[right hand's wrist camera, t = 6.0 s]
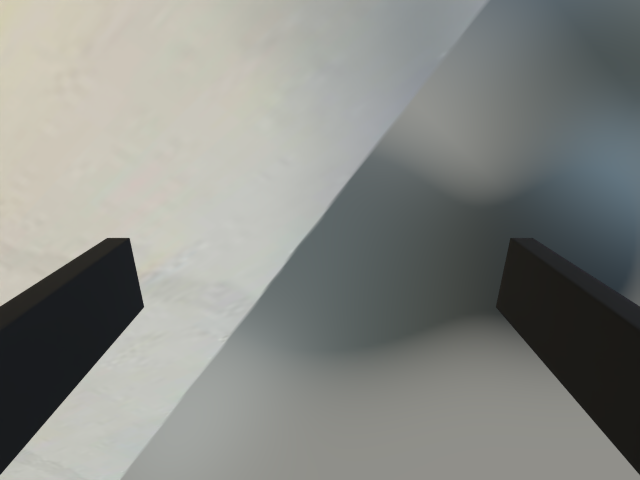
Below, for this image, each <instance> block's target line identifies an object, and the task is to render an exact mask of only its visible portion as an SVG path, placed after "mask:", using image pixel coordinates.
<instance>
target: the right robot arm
mask: <svg viewBox="0 0 640 480" xmlns="http://www.w3.org/2000/svg"><path fill="white" fill-rule="evenodd" d="M143 308H144V305H143V300H142V295H141V290H140V286H139V281H138V276H137V271H136V267H135V262H134V257H133V252H132V248H131V243H130V238H107V239H105V240H103V241H102V242H100V243H99V244H97V245H96V246H94V247H93V248H91V249H89V250H88V251H86V252H85V253H83V254H82V255H80V256H79V257H77V258H75V259H74V260H72V261H71V262H69V263H68V264H66V265H64V266H63V267H61V268H60V269H58V270H57V271H55V272H54V273H52V274H50V275H49V276H47V277H46V278H44V279H43V280H41V281H39V282H38V283H36V284H35V285H33V286H32V287H30V288H29V289H27V290H25V291H24V292H22V293H21V294H19V295H18V296H16V297H14V298H13V299H11V300H10V301H8V302H7V303H5V304H4V305H2V306H0V474H1V473H2V472H3V471H4V470H5V469H6V467H7V466H8V465H9V464H10V463H11V462H12V460H13V459H14V458H15V457H16V456H17V455H18V453H19V452H20V451H21V450H22V449H23V448H24V446H25V445H26V444H27V443H28V442H29V441H30V439H31V438H32V437H33V436H34V435H35V434H36V432H37V431H38V430H39V429H40V428H41V427H42V425H43V424H44V423H45V422H46V421H47V420H48V418H49V417H50V416H51V415H52V414H53V413H54V411H55V410H56V409H57V408H58V407H59V406H60V404H61V403H62V402H63V401H64V400H65V399H66V397H67V396H68V395H69V394H70V393H71V392H72V391H73V389H74V388H75V387H76V386H77V385H78V384H79V382H80V381H81V380H82V379H83V378H84V377H85V375H86V374H87V373H88V372H89V371H90V370H91V368H92V367H93V366H94V365H95V364H96V363H97V361H98V360H99V359H100V358H101V357H102V356H103V354H104V353H105V352H106V351H107V350H108V349H109V347H110V346H111V345H112V344H113V343H114V342H115V340H116V339H117V338H118V337H119V336H120V335H121V333H122V332H123V331H124V330H125V329H126V328H127V326H128V325H129V324H130V323H131V322H132V321H133V319H134V318H135V317H136V316H137V315H138V314H139V312H140V311H141V310H142V309H143ZM496 308H497V309H498V310H499V311H500V312H501V314H502V315H503V316H504V317H505V318H506V319H507V321H508V322H509V323H510V324H511V325H512V326H513V328H514V329H515V330H516V331H517V332H518V333H519V335H520V336H521V337H522V338H523V339H524V340H525V341H526V343H527V344H528V345H529V346H530V347H531V348H532V350H533V351H534V352H535V353H536V354H537V355H538V357H539V358H540V359H541V360H542V361H543V363H544V364H545V365H546V366H547V367H548V368H549V370H550V371H551V372H552V373H553V374H554V375H555V376H556V378H557V379H558V380H559V381H560V382H561V384H562V385H563V386H564V387H565V388H566V389H567V391H568V392H569V393H570V394H571V395H572V396H573V397H574V399H575V400H576V401H577V402H578V403H579V404H580V406H581V407H582V408H583V409H584V410H585V411H586V413H587V414H588V415H589V416H590V417H591V418H592V420H593V421H594V422H595V423H596V424H597V425H598V427H599V428H600V429H601V430H602V431H603V432H604V434H605V435H606V436H607V437H608V438H609V439H610V441H611V442H612V443H613V444H614V445H615V446H616V448H617V449H618V450H619V451H620V452H621V453H622V455H623V456H624V457H625V458H626V459H627V460H628V462H629V463H630V464H631V465H632V466H633V467H634V469H635V470H636V471H637V472H638V473H639V474H640V306H638V305H636V304H635V303H633V302H632V301H630V300H629V299H627V298H626V297H624V296H622V295H621V294H619V293H618V292H616V291H615V290H613V289H611V288H610V287H608V286H607V285H605V284H604V283H602V282H600V281H599V280H597V279H596V278H594V277H593V276H591V275H590V274H588V273H586V272H585V271H583V270H582V269H580V268H579V267H577V266H576V265H574V264H572V263H571V262H569V261H568V260H566V259H565V258H563V257H561V256H560V255H558V254H557V253H555V252H554V251H552V250H551V249H549V248H547V247H546V246H544V245H543V244H541V243H540V242H538V241H536V240H535V239H533V238H511V239H510V243H509V248H508V252H507V257H506V262H505V267H504V271H503V276H502V281H501V286H500V290H499V295H498V300H497V305H496Z"/></svg>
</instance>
